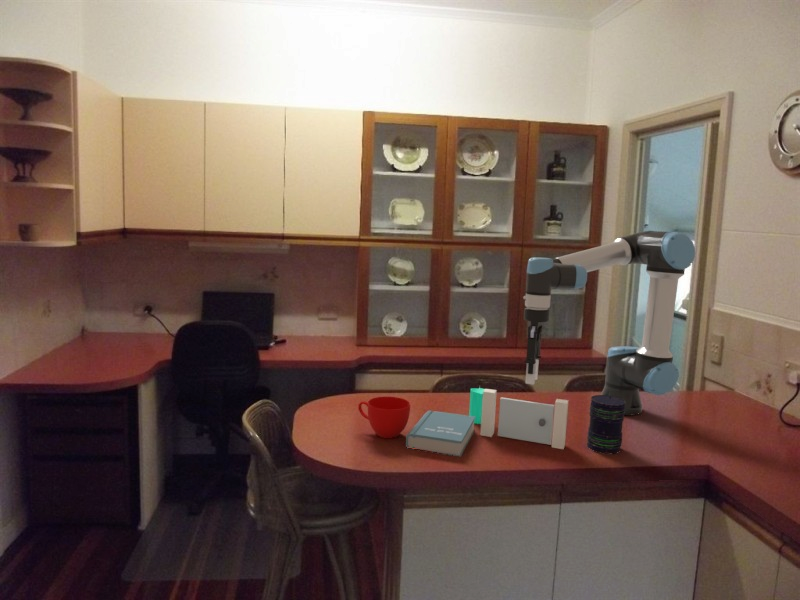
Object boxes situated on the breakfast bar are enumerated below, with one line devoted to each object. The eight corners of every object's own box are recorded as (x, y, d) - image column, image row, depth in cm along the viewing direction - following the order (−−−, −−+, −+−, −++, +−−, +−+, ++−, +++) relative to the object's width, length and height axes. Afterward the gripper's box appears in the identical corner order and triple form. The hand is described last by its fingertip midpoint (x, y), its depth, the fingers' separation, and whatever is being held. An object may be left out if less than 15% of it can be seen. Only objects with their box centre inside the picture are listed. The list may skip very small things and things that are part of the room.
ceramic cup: (368, 421, 194) (369, 391, 192) (415, 432, 186) (417, 401, 185) (347, 434, 182) (348, 402, 181) (397, 445, 175) (398, 412, 173)
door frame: (564, 445, 181) (568, 400, 179) (563, 449, 177) (567, 403, 175) (482, 431, 189) (485, 388, 187) (480, 435, 186) (483, 391, 184)
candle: (466, 422, 198) (468, 386, 196) (471, 416, 203) (473, 382, 201) (484, 425, 195) (486, 389, 194) (488, 419, 201) (490, 384, 199)
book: (460, 458, 169) (461, 441, 168) (405, 449, 173) (406, 433, 173) (474, 431, 190) (475, 416, 190) (425, 424, 195) (426, 409, 194)
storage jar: (616, 457, 173) (621, 407, 171) (582, 449, 178) (586, 400, 176) (624, 446, 181) (629, 399, 179) (591, 439, 187) (595, 392, 184)
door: (551, 443, 181) (554, 405, 179) (550, 446, 178) (553, 407, 177) (498, 434, 186) (501, 397, 185) (496, 437, 184) (499, 399, 182)
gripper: (529, 303, 194) (524, 372, 198) (519, 310, 177) (514, 386, 181) (552, 305, 192) (547, 376, 195) (545, 313, 175) (539, 390, 178)
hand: (531, 381), depth 188 cm, fingers open, 5 cm apart
